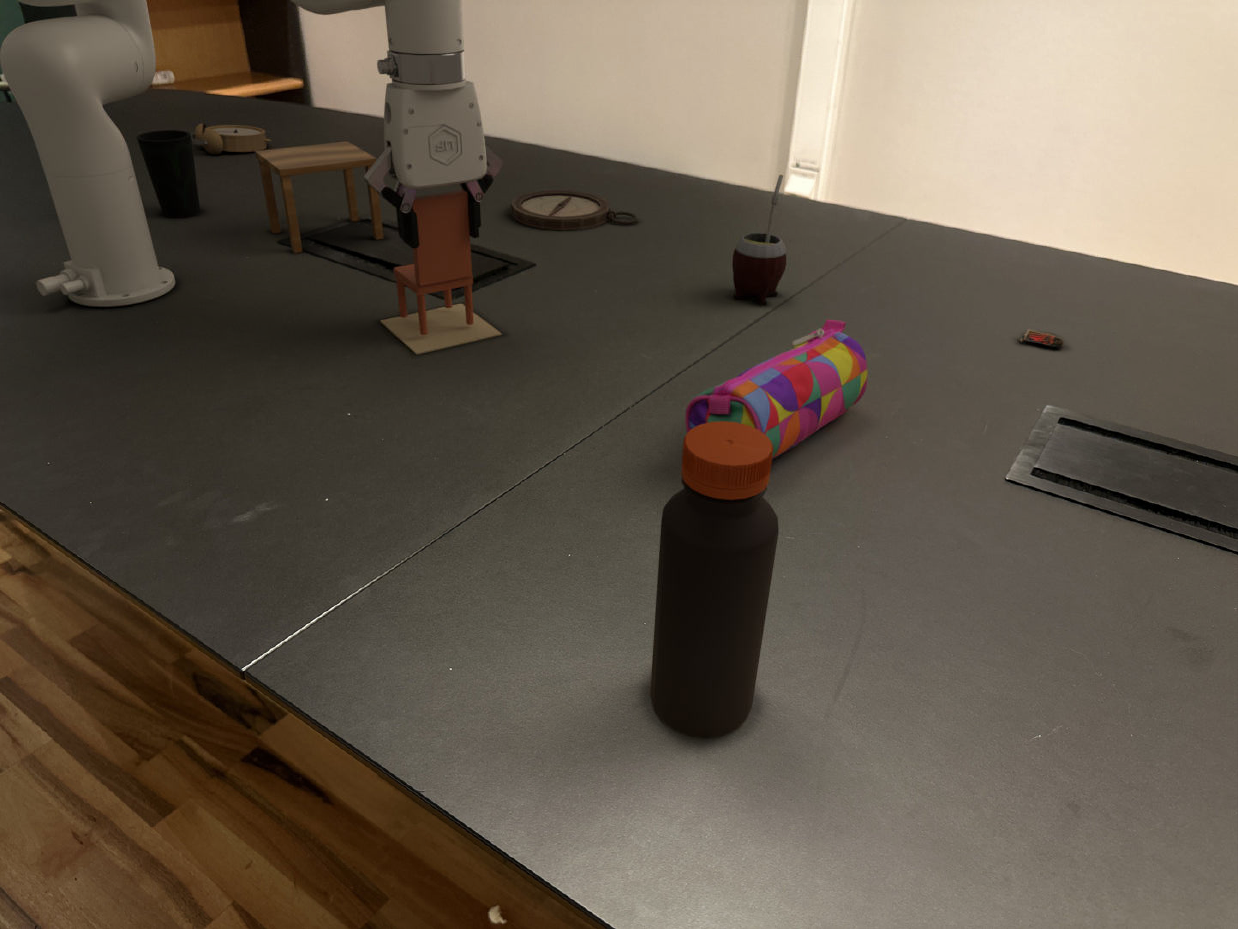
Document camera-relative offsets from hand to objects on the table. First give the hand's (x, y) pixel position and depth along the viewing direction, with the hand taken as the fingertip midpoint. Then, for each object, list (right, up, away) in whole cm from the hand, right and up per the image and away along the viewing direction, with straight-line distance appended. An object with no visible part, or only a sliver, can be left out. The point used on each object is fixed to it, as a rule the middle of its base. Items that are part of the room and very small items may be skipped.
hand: (441, 238), depth 102 cm
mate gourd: (+39, -3, +20) cm, 44 cm away
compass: (+11, +15, +48) cm, 51 cm away
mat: (-2, -9, +8) cm, 12 cm away
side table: (-25, +10, +36) cm, 45 cm away
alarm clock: (-59, +38, +80) cm, 106 cm away
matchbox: (+73, -10, +10) cm, 74 cm away
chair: (-2, -8, +8) cm, 12 cm away
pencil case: (+36, -23, -12) cm, 44 cm away
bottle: (+26, -41, -42) cm, 64 cm away
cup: (-51, +15, +44) cm, 69 cm away
